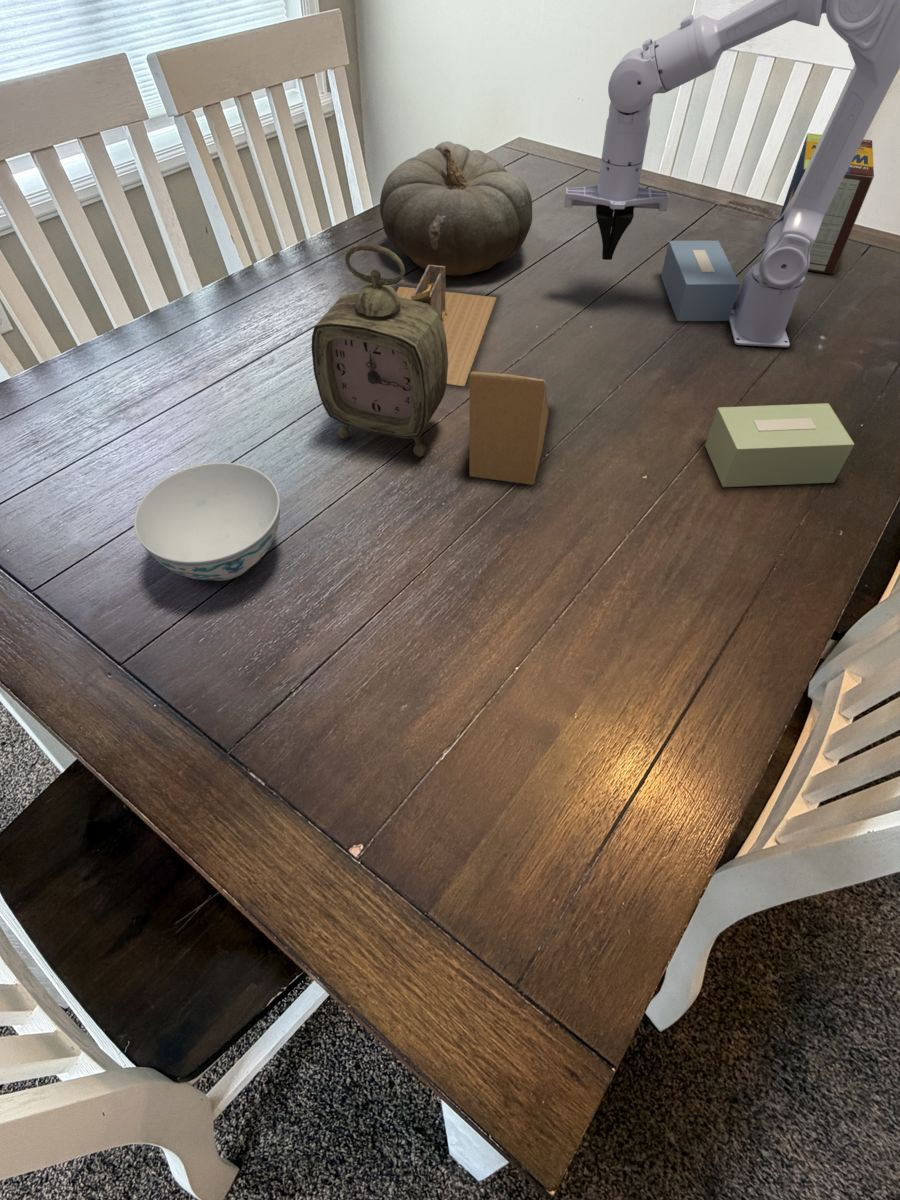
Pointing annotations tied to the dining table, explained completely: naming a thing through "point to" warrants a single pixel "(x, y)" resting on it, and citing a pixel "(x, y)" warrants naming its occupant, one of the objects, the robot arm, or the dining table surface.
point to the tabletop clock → (380, 358)
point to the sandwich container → (506, 426)
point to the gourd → (455, 209)
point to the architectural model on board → (432, 288)
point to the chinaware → (209, 520)
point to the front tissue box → (777, 445)
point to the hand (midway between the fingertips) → (606, 256)
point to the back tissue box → (699, 281)
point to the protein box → (836, 204)
